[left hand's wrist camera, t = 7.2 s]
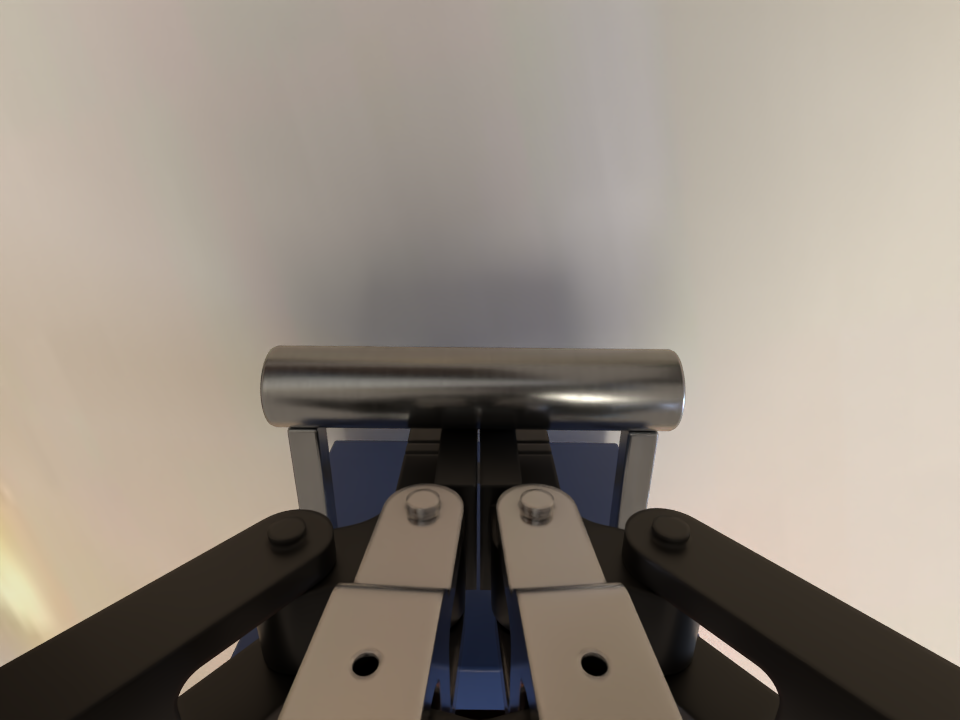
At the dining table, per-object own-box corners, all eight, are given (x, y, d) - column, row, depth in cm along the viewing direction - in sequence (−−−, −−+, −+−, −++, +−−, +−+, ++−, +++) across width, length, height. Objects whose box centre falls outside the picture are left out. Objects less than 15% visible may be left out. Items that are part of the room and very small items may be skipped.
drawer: (315, 271, 15) (157, 403, 8) (638, 275, 15) (784, 410, 8) (372, 775, 25) (324, 1057, 17) (575, 777, 25) (615, 1061, 17)
